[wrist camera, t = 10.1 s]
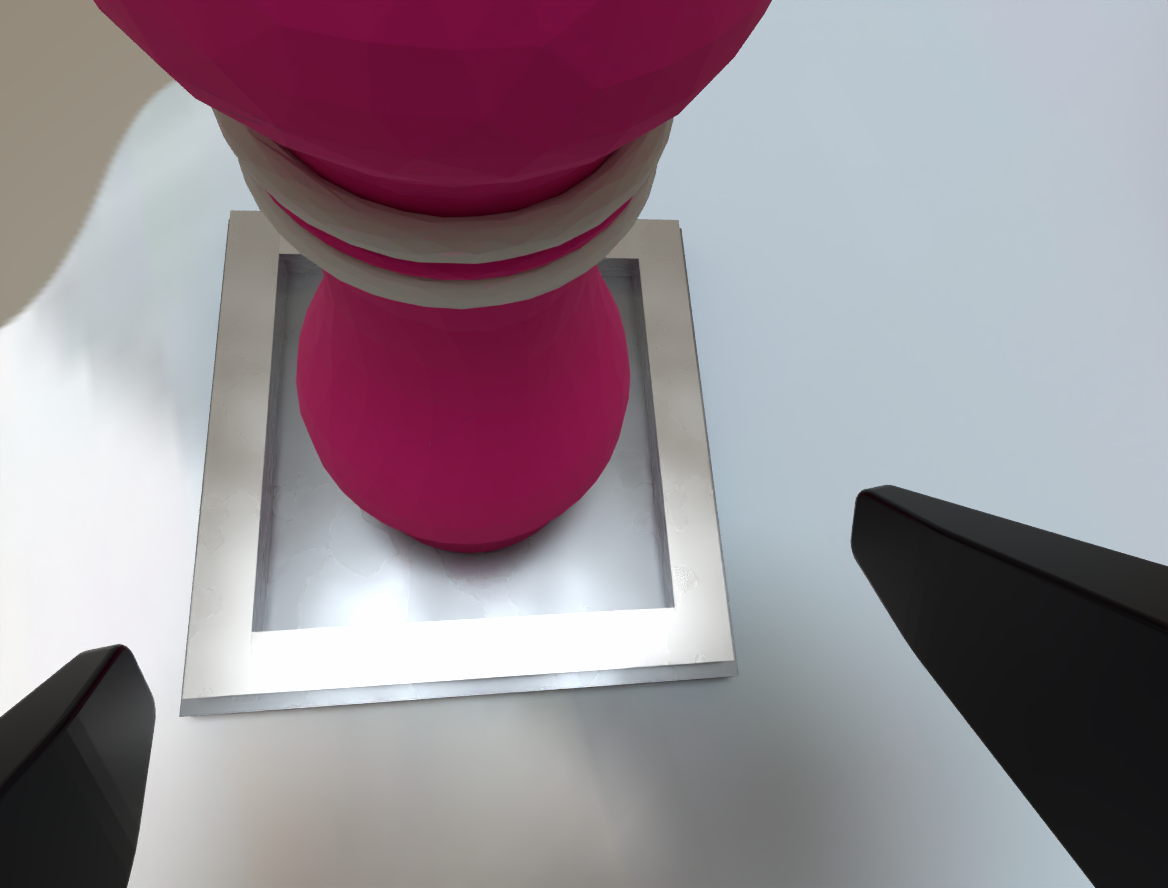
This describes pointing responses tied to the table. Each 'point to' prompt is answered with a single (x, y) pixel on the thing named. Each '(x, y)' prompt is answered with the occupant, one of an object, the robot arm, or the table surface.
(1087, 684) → the robot arm
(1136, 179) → the table surface
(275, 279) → the silver dock
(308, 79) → the pepper mill
